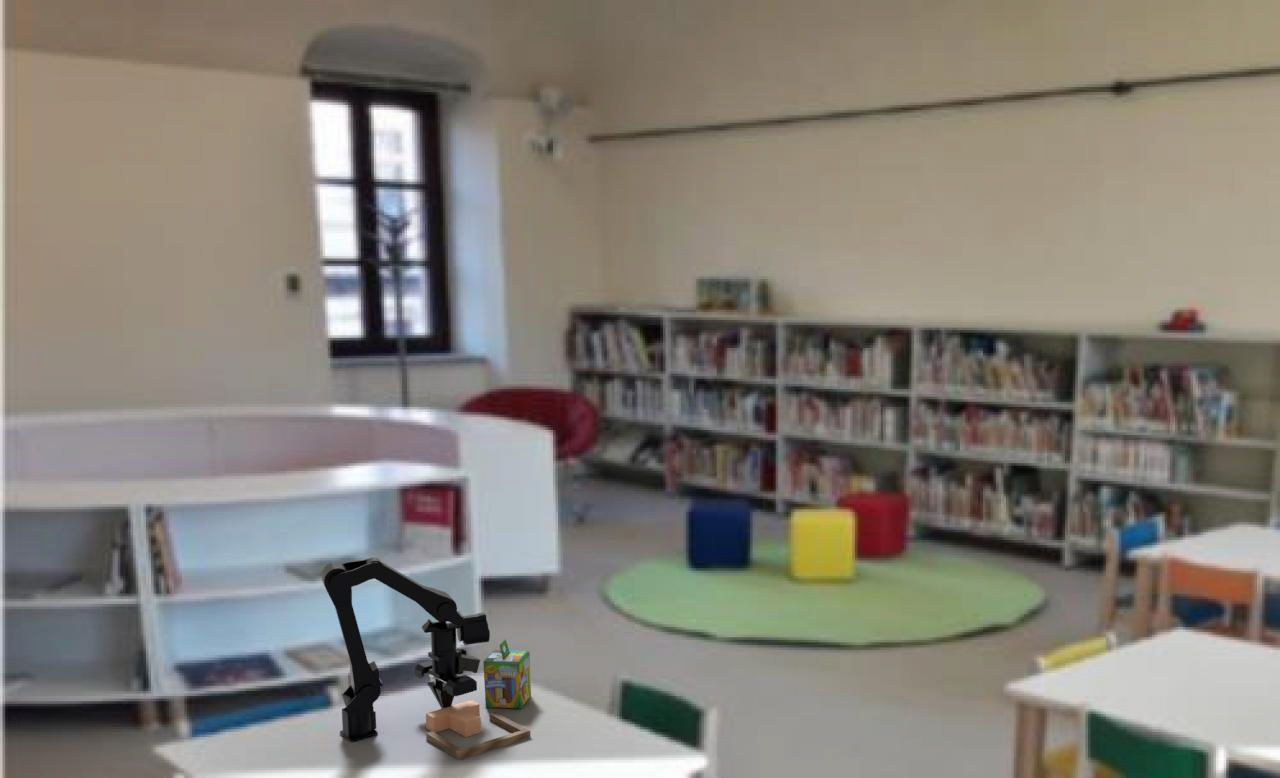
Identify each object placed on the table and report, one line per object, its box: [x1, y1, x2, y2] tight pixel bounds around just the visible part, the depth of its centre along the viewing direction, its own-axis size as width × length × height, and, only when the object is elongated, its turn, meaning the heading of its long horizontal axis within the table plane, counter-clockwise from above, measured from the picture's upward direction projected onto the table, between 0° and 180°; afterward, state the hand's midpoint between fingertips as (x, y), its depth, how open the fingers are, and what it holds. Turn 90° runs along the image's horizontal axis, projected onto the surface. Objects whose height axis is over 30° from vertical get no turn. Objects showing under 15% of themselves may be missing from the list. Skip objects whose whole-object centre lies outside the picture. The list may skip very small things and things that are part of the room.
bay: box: [425, 711, 531, 761], centre depth 249 cm, size 18×14×2 cm
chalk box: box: [482, 639, 532, 709], centre depth 270 cm, size 9×9×15 cm
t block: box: [425, 700, 482, 738], centre depth 255 cm, size 12×10×4 cm
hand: (446, 713), depth 260 cm, fingers closed
